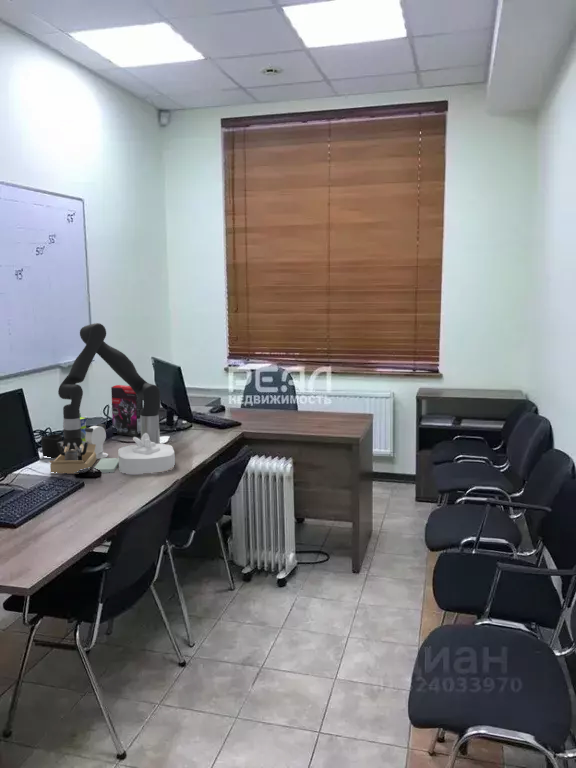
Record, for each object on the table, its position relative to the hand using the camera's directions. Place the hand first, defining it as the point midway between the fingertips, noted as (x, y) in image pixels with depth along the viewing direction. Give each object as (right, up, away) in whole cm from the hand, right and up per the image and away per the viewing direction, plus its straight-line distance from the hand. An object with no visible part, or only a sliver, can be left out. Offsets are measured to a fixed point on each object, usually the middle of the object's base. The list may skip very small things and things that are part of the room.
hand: (73, 463), depth 288 cm
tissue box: (+32, -2, +4) cm, 33 cm away
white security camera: (+4, +1, +20) cm, 21 cm away
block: (0, -2, +1) cm, 2 cm away
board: (+15, -2, +2) cm, 15 cm away
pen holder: (-17, +1, +18) cm, 25 cm away
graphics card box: (+9, +8, +64) cm, 65 cm away
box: (-10, +3, +34) cm, 35 cm away
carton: (0, -2, +1) cm, 2 cm away
